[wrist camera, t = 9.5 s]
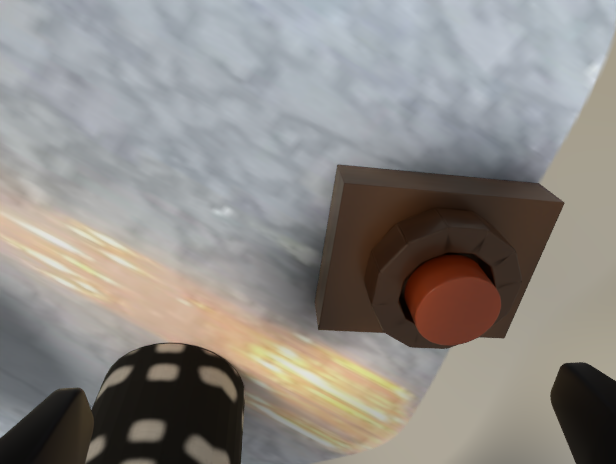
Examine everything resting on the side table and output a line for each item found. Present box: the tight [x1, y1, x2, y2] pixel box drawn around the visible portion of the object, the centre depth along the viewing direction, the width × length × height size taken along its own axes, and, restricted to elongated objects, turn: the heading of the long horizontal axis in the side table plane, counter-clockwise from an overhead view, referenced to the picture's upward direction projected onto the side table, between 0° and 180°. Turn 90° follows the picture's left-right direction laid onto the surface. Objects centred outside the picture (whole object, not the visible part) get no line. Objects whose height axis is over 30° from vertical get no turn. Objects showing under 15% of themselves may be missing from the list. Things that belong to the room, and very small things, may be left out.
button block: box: [315, 165, 564, 349], centre depth 21 cm, size 10×8×4 cm
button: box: [404, 254, 501, 345], centre depth 19 cm, size 4×4×2 cm
